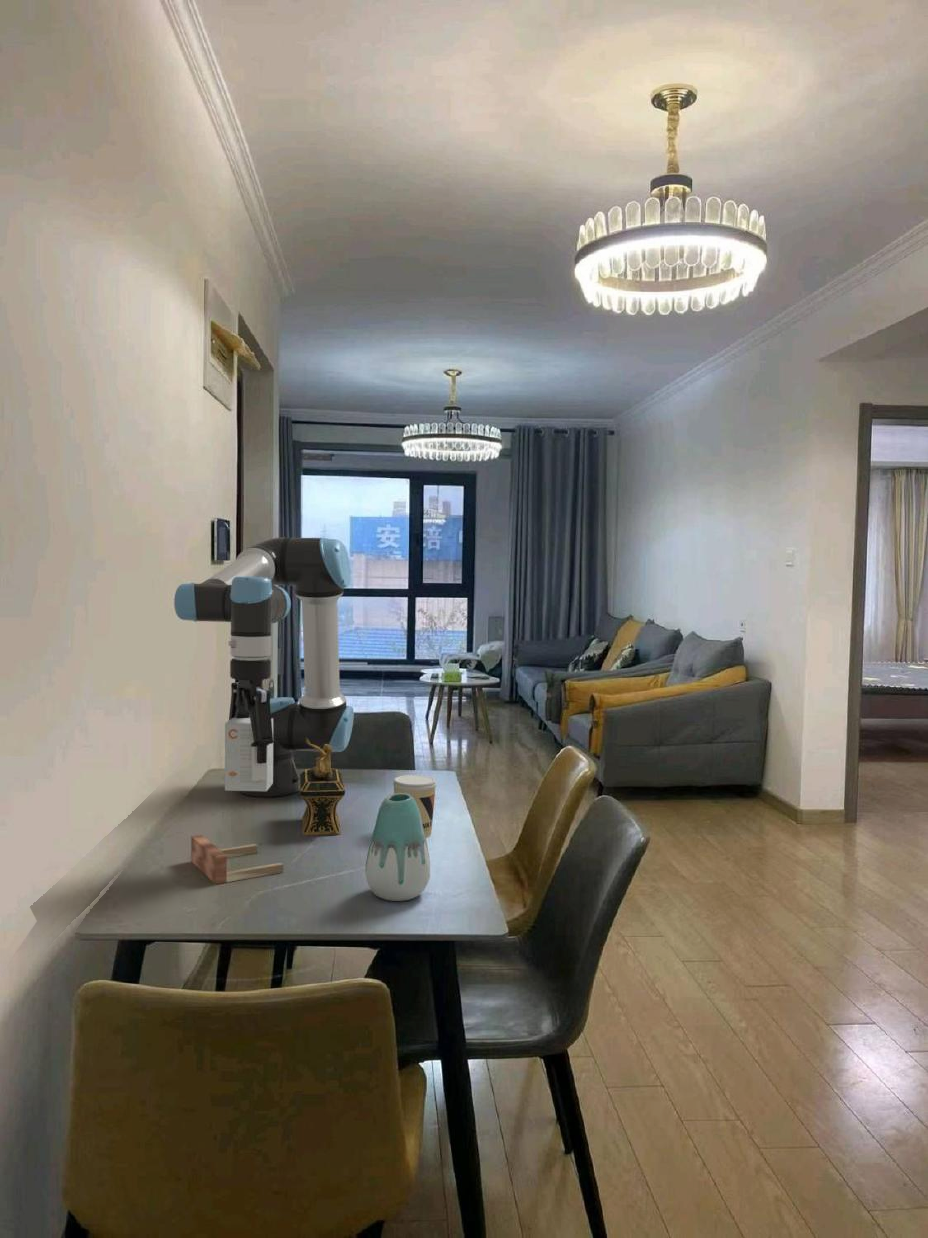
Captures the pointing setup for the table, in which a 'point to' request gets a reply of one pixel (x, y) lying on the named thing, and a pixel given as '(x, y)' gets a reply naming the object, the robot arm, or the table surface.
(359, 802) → the table surface
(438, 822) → the table surface
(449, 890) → the table surface
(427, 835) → the coffee cup
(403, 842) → the vase
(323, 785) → the decorative box
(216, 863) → the keeper seat
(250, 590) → the robot arm
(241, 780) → the small box
